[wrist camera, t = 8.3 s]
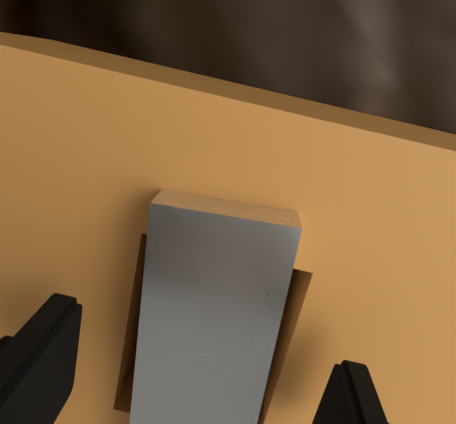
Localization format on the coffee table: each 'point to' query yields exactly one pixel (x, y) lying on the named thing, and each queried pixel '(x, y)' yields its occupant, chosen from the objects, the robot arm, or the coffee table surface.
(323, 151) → the tissue box
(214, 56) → the coffee table surface
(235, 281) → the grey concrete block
